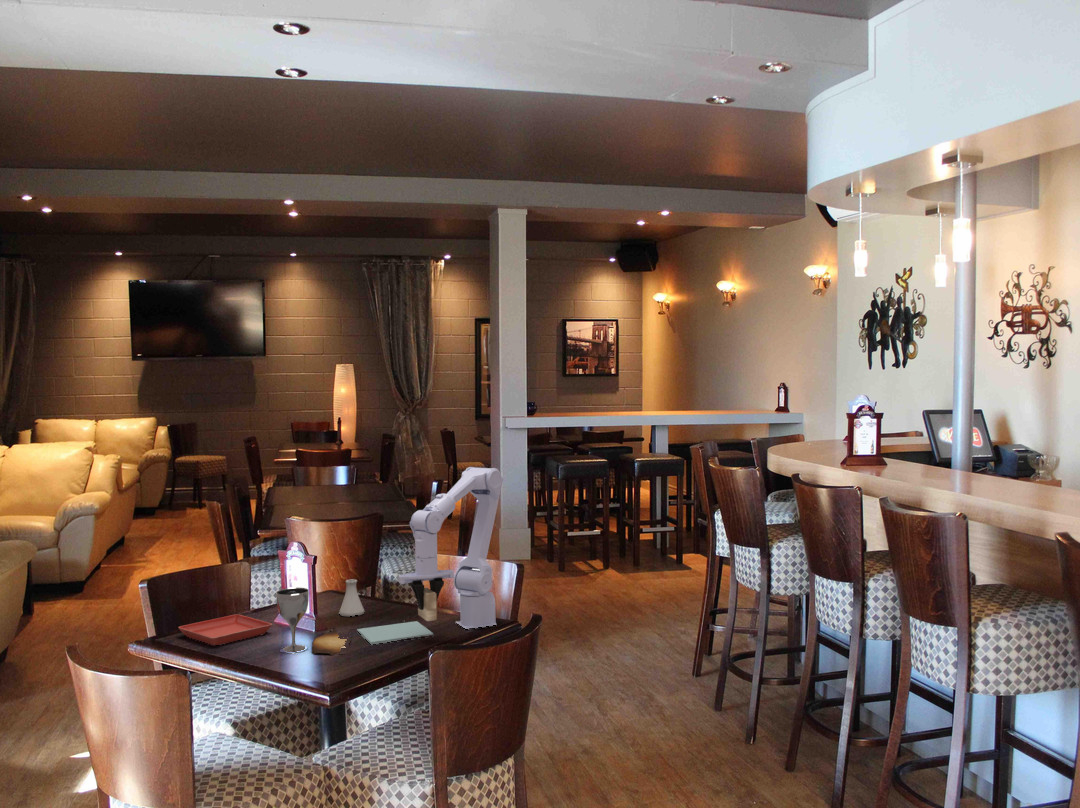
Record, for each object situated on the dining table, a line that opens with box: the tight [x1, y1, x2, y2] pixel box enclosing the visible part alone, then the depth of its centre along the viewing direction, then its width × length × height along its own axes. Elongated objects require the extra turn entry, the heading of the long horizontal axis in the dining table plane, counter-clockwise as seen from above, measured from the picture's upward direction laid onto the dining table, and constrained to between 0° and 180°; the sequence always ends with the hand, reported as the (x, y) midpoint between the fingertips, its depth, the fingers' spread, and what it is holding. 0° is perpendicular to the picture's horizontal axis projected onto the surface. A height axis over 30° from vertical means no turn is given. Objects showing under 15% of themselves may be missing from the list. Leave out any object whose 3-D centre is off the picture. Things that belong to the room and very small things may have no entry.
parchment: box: [311, 627, 347, 656], centre depth 233 cm, size 25×10×1 cm, turn 6°
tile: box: [417, 587, 438, 622], centre depth 232 cm, size 3×7×7 cm, turn 27°
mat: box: [356, 620, 434, 646], centre depth 240 cm, size 17×14×1 cm
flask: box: [338, 579, 366, 617], centre depth 262 cm, size 7×7×10 cm
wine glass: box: [275, 587, 310, 652], centre depth 227 cm, size 8×8×15 cm
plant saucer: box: [178, 614, 273, 646], centre depth 240 cm, size 18×18×3 cm
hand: (427, 608), depth 232 cm, fingers closed on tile, 3 cm apart
